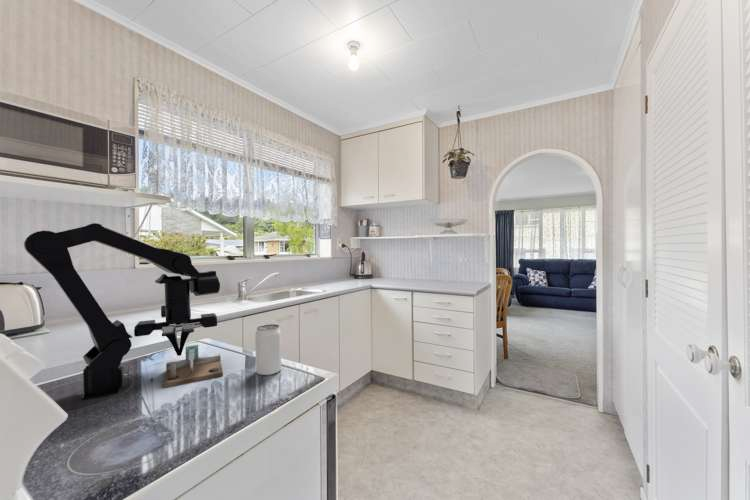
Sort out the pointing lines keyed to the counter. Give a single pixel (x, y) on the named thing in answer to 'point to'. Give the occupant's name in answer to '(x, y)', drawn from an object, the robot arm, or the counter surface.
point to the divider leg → (191, 355)
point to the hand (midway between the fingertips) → (179, 355)
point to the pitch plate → (201, 370)
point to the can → (268, 349)
